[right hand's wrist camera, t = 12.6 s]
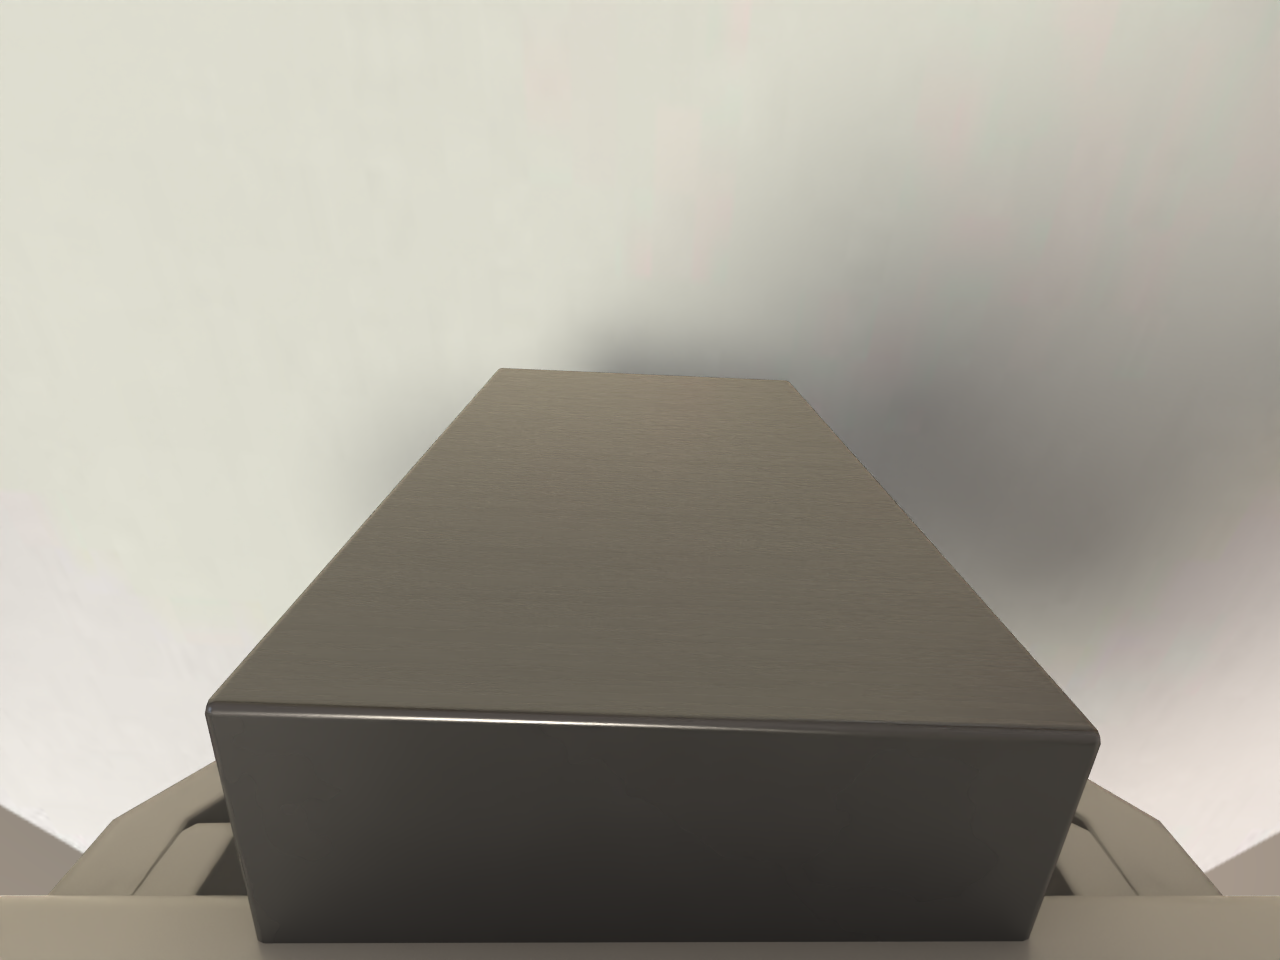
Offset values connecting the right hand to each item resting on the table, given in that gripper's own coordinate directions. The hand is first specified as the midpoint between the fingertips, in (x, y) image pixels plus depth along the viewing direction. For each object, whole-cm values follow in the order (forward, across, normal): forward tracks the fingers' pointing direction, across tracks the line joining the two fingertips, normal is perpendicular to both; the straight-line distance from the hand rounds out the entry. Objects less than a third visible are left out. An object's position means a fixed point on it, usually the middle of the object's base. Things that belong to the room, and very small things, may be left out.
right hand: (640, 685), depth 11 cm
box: (+5, 0, -7) cm, 8 cm away
